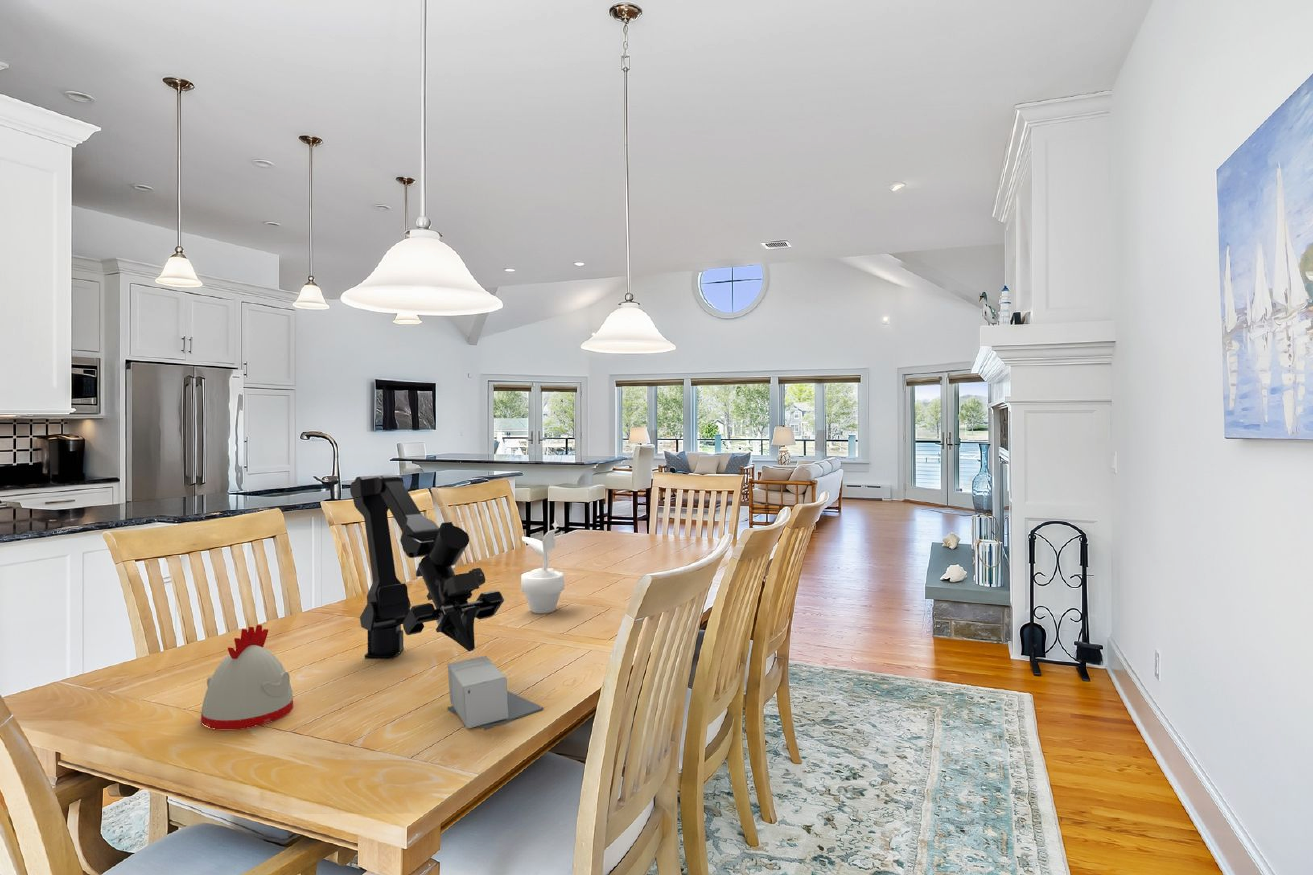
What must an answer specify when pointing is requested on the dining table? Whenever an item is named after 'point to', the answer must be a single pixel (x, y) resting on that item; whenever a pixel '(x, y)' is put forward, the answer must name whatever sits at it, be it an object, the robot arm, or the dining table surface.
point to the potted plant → (543, 577)
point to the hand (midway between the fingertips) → (472, 649)
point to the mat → (512, 709)
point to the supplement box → (478, 691)
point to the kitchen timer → (247, 686)
